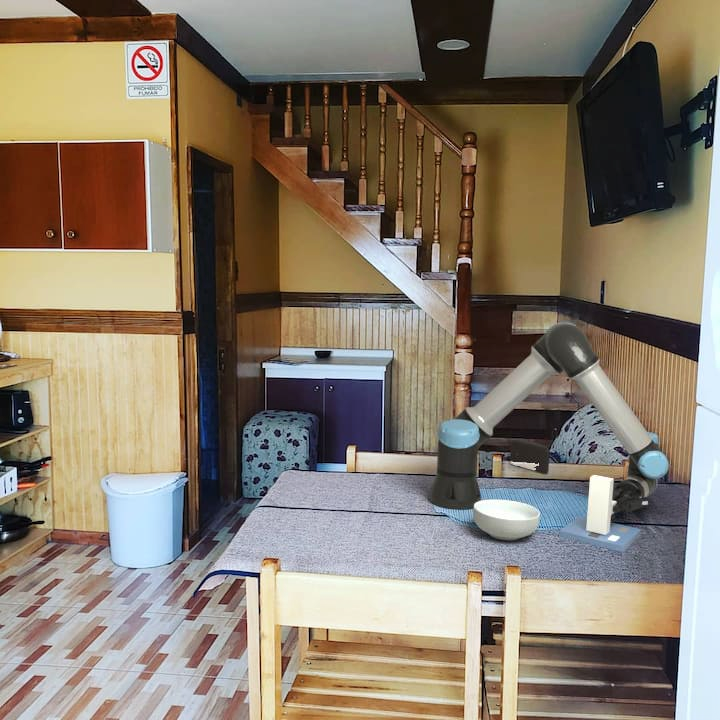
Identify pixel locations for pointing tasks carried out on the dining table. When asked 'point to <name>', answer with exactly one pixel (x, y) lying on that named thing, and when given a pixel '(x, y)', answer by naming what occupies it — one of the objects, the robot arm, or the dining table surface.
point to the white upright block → (599, 504)
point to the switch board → (601, 535)
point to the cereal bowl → (506, 518)
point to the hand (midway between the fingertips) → (605, 511)
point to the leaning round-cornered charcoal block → (530, 454)
